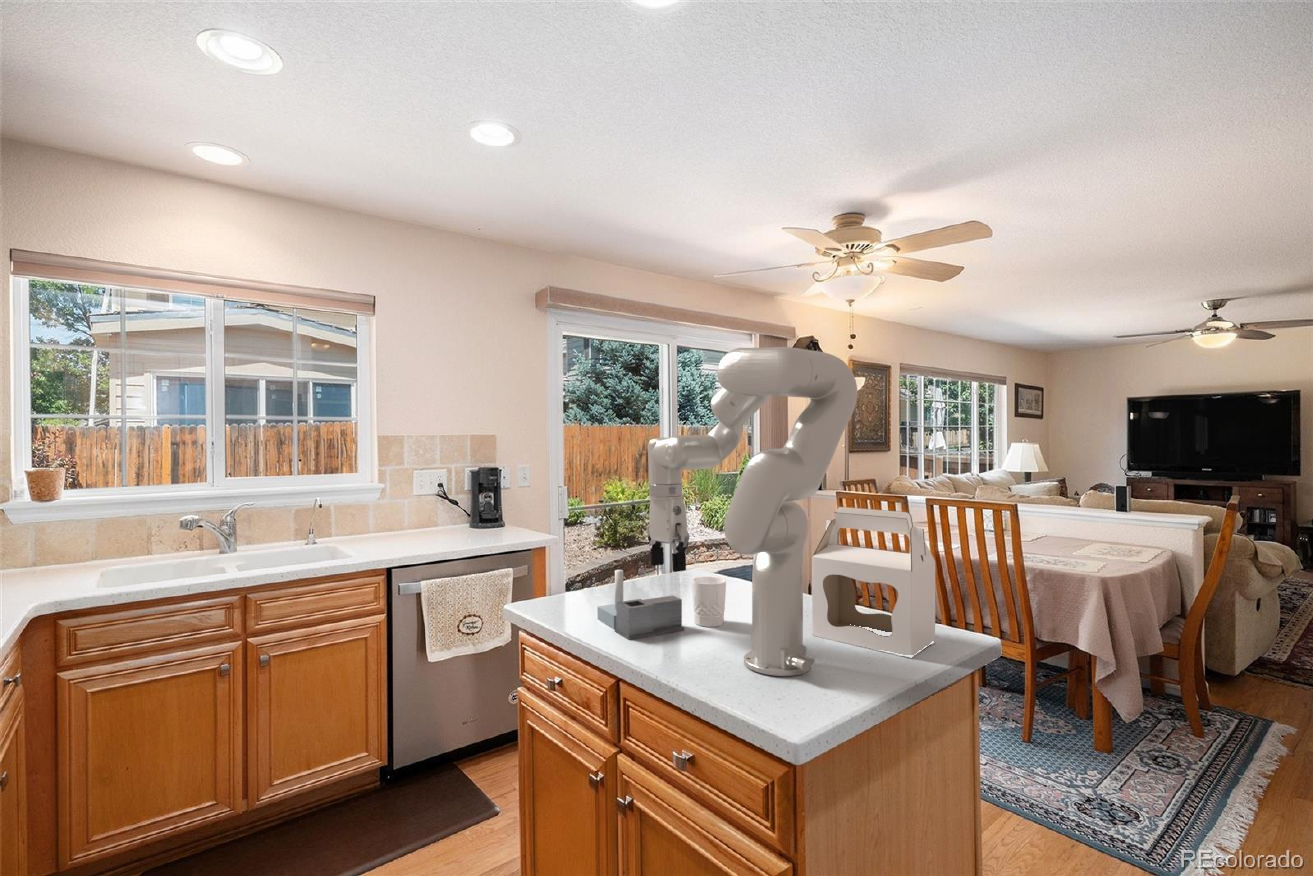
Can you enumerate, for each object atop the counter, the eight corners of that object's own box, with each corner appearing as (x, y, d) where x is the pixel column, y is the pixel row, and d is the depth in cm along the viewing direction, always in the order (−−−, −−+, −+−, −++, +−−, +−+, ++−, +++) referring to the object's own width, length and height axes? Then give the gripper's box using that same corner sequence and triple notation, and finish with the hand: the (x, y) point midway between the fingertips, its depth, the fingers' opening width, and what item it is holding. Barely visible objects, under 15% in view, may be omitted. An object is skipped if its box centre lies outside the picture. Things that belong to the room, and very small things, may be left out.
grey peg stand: (613, 629, 143) (613, 576, 143) (597, 619, 151) (597, 568, 151) (659, 621, 149) (660, 570, 149) (641, 612, 157) (642, 563, 157)
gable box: (810, 635, 139) (810, 508, 139) (838, 622, 149) (838, 503, 149) (913, 659, 124) (913, 516, 124) (936, 643, 134) (936, 510, 134)
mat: (684, 630, 143) (684, 627, 143) (628, 640, 136) (628, 637, 136) (668, 622, 149) (668, 619, 149) (614, 631, 142) (614, 628, 142)
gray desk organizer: (628, 636, 136) (628, 608, 136) (616, 629, 141) (616, 602, 141) (684, 627, 143) (684, 600, 143) (670, 620, 148) (670, 594, 148)
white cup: (725, 618, 152) (725, 577, 152) (726, 628, 144) (726, 584, 144) (692, 617, 153) (692, 576, 153) (691, 627, 145) (691, 583, 145)
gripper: (700, 492, 138) (703, 571, 138) (661, 490, 153) (663, 561, 153) (671, 494, 135) (673, 575, 134) (633, 491, 150) (635, 564, 149)
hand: (668, 567), depth 143 cm, fingers open, 9 cm apart
